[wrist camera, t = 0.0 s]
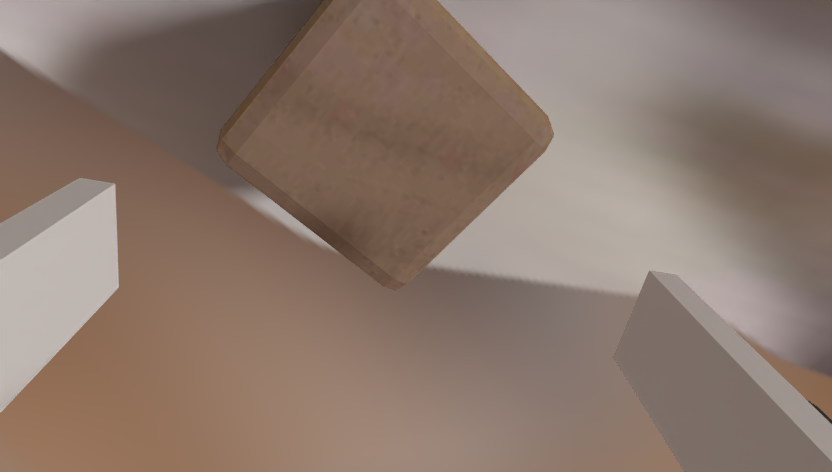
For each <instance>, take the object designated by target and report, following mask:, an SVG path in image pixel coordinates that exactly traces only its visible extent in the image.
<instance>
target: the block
mask: <svg viewBox="0 0 832 472" xmlns="http://www.w3.org/2000/svg"><path fill="white" fill-rule="evenodd" d="M553 135H554V133H553V130H552V127H551V124H550V121H549V118H548V116H547V115H546V114H545V113H544V112H543V110H542V109H541V108H540V107H539V106H538V105H537V104H536V103H535V102H534V101H533V100H532V99H531V98H530V97H529V96H528V95H527V94H526V93H525V92H524V91H523V90H522V89H521V88H520V86H519V85H518V84H517V83H516V82H515V81H514V80H513V79H512V78H511V77H510V76H509V75H508V74H507V73H506V72H505V71H504V70H503V69H502V68H501V67H500V66H499V65H498V64H497V62H496V61H495V60H494V59H493V58H492V57H491V56H490V55H489V54H488V53H487V52H486V51H485V50H484V49H483V48H482V47H481V46H480V45H479V44H478V43H477V42H476V41H475V40H474V38H473V37H472V36H471V35H470V34H469V33H468V32H467V31H466V30H465V29H464V28H463V27H462V26H461V25H460V24H459V23H458V22H457V21H456V20H455V19H454V18H453V17H452V16H451V15H450V13H449V12H448V11H447V10H446V9H445V8H444V7H443V6H442V5H441V4H440V3H439V2H438V1H437V0H324V1H323V2H322V3H321V5H320V6H319V7H318V8H317V10H316V11H315V12H314V13H313V15H312V16H311V17H310V18H309V20H308V21H307V22H306V23H305V25H304V26H303V27H302V29H301V30H300V31H299V32H298V34H297V35H296V36H295V37H294V39H293V40H292V41H291V42H290V44H289V45H288V46H287V47H286V49H285V50H284V51H283V52H282V54H281V55H280V56H279V57H278V59H277V60H276V61H275V63H274V64H273V65H272V66H271V68H270V69H269V70H268V71H267V73H266V74H265V75H264V76H263V78H262V79H261V80H260V81H259V83H258V84H257V85H256V86H255V88H254V89H253V90H252V91H251V93H250V94H249V95H248V97H247V98H246V99H245V100H244V102H243V103H242V104H241V105H240V107H239V108H238V109H237V110H236V112H235V113H234V114H233V115H232V117H231V118H230V119H229V120H228V122H227V123H226V124H225V126H224V127H223V128H222V129H221V132H220V137H219V141H218V145H217V152H218V154H219V155H220V156H221V158H222V159H223V160H224V162H225V163H226V164H227V165H228V166H229V167H230V168H231V169H233V170H234V171H235V172H237V173H238V174H239V175H240V176H242V177H243V178H244V179H246V180H247V181H248V182H249V183H251V184H252V185H253V186H255V187H256V188H257V189H258V190H260V191H261V192H262V193H264V194H265V195H266V196H267V197H269V198H270V199H271V200H273V201H274V202H275V203H277V204H278V205H279V206H280V207H282V208H283V209H284V210H286V211H287V212H288V213H289V214H291V215H292V216H293V217H295V218H296V219H297V220H298V221H300V222H301V223H302V224H304V225H305V226H306V227H307V228H309V229H310V230H311V231H313V232H314V233H315V234H316V235H318V236H319V237H320V238H322V239H323V240H324V241H326V242H327V243H328V244H329V245H331V246H332V247H333V248H335V249H336V250H337V251H338V252H340V253H341V254H342V255H344V256H345V257H346V258H347V259H349V260H350V261H351V262H353V263H354V264H355V265H356V266H358V267H359V268H360V269H362V270H363V271H364V272H365V273H367V274H368V275H369V276H371V277H372V278H373V279H374V280H376V281H377V282H378V283H380V284H381V285H382V286H384V287H387V288H390V289H392V290H397V289H399V288H401V287H403V286H405V285H407V284H408V283H409V282H410V281H411V280H412V279H413V278H414V277H415V276H416V275H417V274H418V273H419V272H420V271H421V270H422V269H424V268H425V267H426V266H427V265H428V264H429V263H430V262H431V261H432V260H433V259H434V258H435V257H436V256H437V255H438V254H439V253H440V252H441V251H442V250H443V249H444V248H445V247H446V246H447V245H448V244H449V243H450V242H452V241H453V240H454V239H455V238H456V237H457V236H458V235H459V234H460V233H461V232H462V231H463V230H464V229H465V228H466V227H467V226H468V225H469V224H470V223H471V222H472V221H473V220H474V219H475V218H476V217H477V216H478V215H480V214H481V213H482V212H483V211H484V210H485V209H486V208H487V207H488V206H489V205H490V204H491V203H492V202H493V201H494V200H495V199H496V198H497V197H498V196H499V195H500V194H501V193H502V192H503V191H504V190H505V189H506V188H508V187H509V186H510V185H511V184H512V183H513V182H514V181H515V180H516V179H517V178H518V177H519V176H520V175H521V174H522V173H523V172H524V171H525V170H526V169H527V168H528V167H529V166H530V165H531V164H532V163H533V162H534V161H536V160H537V159H538V158H539V157H540V156H541V155H542V154H543V153H544V152H545V151H546V149H547V147H548V145H549V144H550V142H551V140H552V138H553Z"/></svg>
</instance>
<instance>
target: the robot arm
mask: <svg viewBox="0 0 832 472" xmlns="http://www.w3.org/2000/svg"><path fill="white" fill-rule="evenodd" d="M115 191H116V190H115V183H109V182H104V181H97V180H91V179H85V178H79V179H77V180H75V181H73V182H71V183H70V184H68V185H66V186H64V187H63V188H61V189H59V190H57V191H56V192H54V193H52V194H51V195H49V196H47V197H45V198H43V199H42V200H40V201H38V202H37V203H35V204H33V205H31V206H30V207H28V208H26V209H24V210H22V211H21V212H19V213H17V214H15V215H14V216H12V217H10V218H8V219H7V220H5V221H3V222H2V223H0V413H1V412H2V410H3V409H4V408H5V407H6V406H7V405H8V404H9V403H10V402H11V401H12V400H13V399H14V398H15V397H16V395H18V394H19V392H20V391H21V390H22V389H23V388H24V387H25V386H26V385H27V384H28V383H29V382H30V381H31V380H32V379H33V378H34V377H35V376H36V374H37V373H38V372H39V371H40V370H41V369H42V368H43V367H44V366H45V365H46V364H47V363H48V362H49V361H50V360H51V358H53V356H54V355H55V354H56V353H57V352H58V351H59V350H60V349H61V348H62V347H63V346H64V345H65V344H66V343H67V342H68V341H69V340H70V338H71V337H72V336H73V335H74V334H75V333H76V332H77V331H78V330H79V329H80V328H81V327H82V326H83V325H84V324H85V323H86V322H87V320H88V319H89V318H90V317H91V316H92V315H93V314H94V313H95V312H96V311H97V310H98V309H99V308H100V306H102V304H103V303H104V302H105V301H106V300H107V299H108V298H109V297H110V296H111V295H112V294H113V293H114V292H115V291H116V290H117V289H118V287H119V280H118V252H117V220H116V192H115ZM613 358H614V360H615V361H616V363H617V364H618V366H619V368H620V369H621V371H622V372H623V374H624V376H625V377H626V379H627V380H628V382H629V384H630V385H631V387H632V389H633V390H634V392H635V393H636V395H637V397H638V398H639V400H640V401H641V403H642V405H643V406H644V408H645V410H646V411H647V413H648V414H649V416H650V418H651V419H652V421H653V422H654V424H655V425H656V427H657V429H658V430H659V432H660V433H661V435H662V437H663V438H664V440H665V442H666V443H667V445H668V446H669V448H670V450H671V451H672V453H673V454H674V456H675V458H676V459H677V461H678V463H679V464H680V466H681V467H682V469H683V470H684V472H832V420H831V419H830V418H828V417H827V416H826V415H825V414H824V413H823V412H822V411H821V410H820V409H819V408H818V407H817V406H815V405H814V404H812V403H811V402H810V401H808V400H806V399H805V398H804V397H803V396H802V395H801V394H800V393H799V392H798V391H797V390H796V389H795V388H794V387H793V386H791V385H790V384H789V383H788V382H787V381H786V380H785V379H784V378H783V377H782V376H781V375H780V374H779V373H778V372H777V371H776V370H775V369H774V368H773V367H772V366H771V365H770V364H768V362H767V361H766V360H764V359H763V358H762V357H761V356H760V355H759V354H758V353H757V352H756V351H755V350H754V349H753V348H752V347H751V346H750V345H749V344H748V343H747V342H746V341H745V340H743V338H742V337H741V336H740V335H739V334H738V333H737V332H735V331H734V330H733V329H732V328H731V327H730V326H729V325H728V324H727V323H726V322H725V321H724V320H723V319H722V318H721V317H720V316H719V315H718V314H717V313H716V312H715V311H714V310H713V309H712V308H711V307H710V306H708V305H707V304H706V303H705V302H704V301H703V300H702V299H701V298H700V297H699V296H698V295H697V294H696V293H695V292H694V291H693V290H692V289H691V288H690V287H689V286H688V285H687V284H686V283H685V282H684V281H683V280H681V279H680V278H679V277H678V276H677V275H674V274H668V273H662V272H655V271H649V273H648V275H647V277H646V280H645V282H644V284H643V287H642V289H641V292H640V294H639V296H638V299H637V301H636V303H635V306H634V308H633V311H632V313H631V315H630V318H629V320H628V322H627V325H626V327H625V330H624V332H623V334H622V337H621V339H620V341H619V344H618V346H617V349H616V351H615V353H614V356H613Z"/></svg>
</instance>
